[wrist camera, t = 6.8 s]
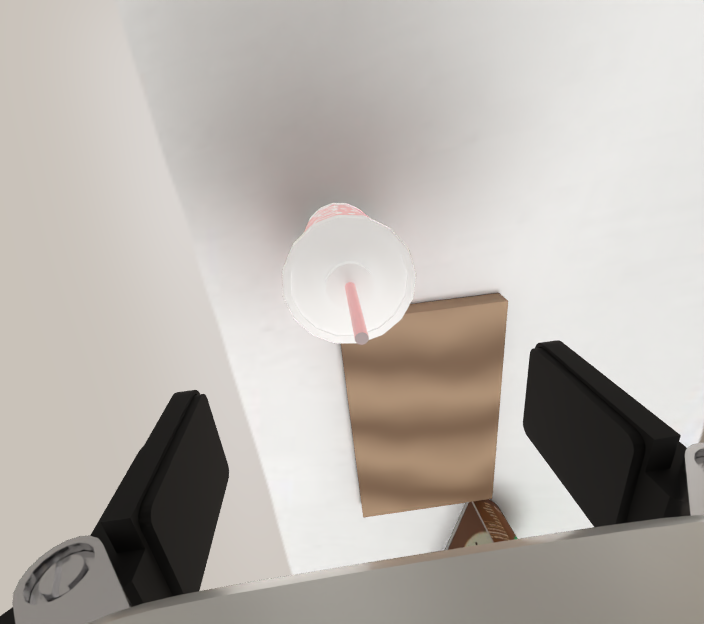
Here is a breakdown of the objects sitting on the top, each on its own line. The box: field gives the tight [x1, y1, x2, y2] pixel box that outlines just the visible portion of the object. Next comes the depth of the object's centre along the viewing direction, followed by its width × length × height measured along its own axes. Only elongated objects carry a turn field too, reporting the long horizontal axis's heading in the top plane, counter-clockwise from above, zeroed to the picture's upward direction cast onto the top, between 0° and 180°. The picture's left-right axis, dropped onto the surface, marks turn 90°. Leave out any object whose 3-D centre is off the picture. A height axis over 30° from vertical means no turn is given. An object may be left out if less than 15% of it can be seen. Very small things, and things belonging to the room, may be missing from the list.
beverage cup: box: [282, 203, 416, 345], centre depth 19 cm, size 6×6×14 cm
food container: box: [445, 499, 517, 550], centre depth 35 cm, size 12×6×10 cm, turn 169°
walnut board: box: [341, 293, 508, 517], centre depth 31 cm, size 20×12×2 cm, turn 6°
